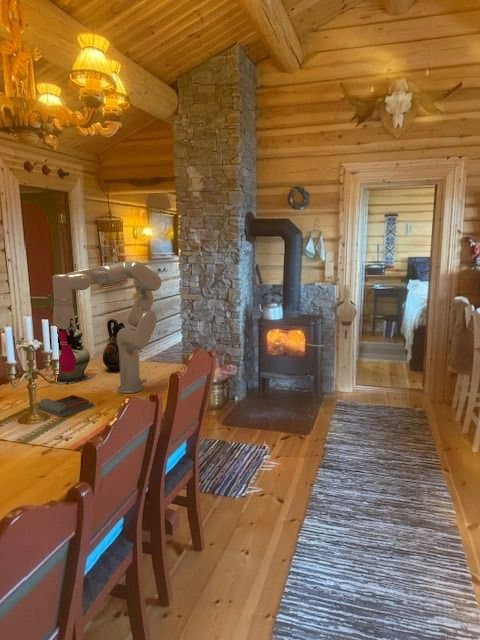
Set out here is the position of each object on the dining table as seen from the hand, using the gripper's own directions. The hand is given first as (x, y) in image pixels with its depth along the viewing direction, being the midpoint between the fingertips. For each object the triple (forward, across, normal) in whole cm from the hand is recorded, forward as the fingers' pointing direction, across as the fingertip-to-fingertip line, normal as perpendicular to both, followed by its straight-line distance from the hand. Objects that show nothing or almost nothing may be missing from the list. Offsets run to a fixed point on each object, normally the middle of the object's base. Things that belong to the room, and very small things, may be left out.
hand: (66, 342), depth 199 cm
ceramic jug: (+30, -32, +53) cm, 69 cm away
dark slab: (+29, 0, -2) cm, 29 cm away
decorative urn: (+30, -38, +27) cm, 55 cm away
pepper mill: (+13, 0, 0) cm, 13 cm away
